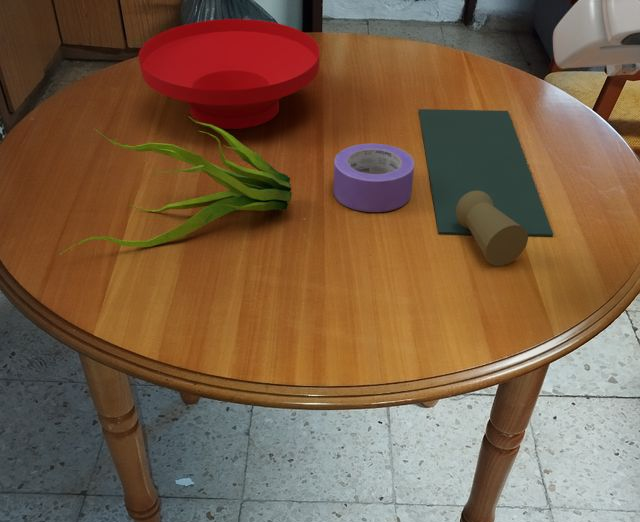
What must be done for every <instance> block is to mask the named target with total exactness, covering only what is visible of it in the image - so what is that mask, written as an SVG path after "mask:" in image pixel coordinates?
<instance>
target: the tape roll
mask: <svg viewBox="0 0 640 522" xmlns="http://www.w3.org/2000/svg"><path fill="white" fill-rule="evenodd" d="M333 161H334V164H333V166H334V167H333V195H334V197H335V200H336V201H338V202H339V203H340V204H341V205H343V206H344V207H347V208H349V209H352V210H355V211H360V212H367V213H386V212H390V211H394V210H397V209H400V208H402V207H404V206H405V205H407V204H408V202H410V199H411V197H412V190H413V183H414V182H413V181H414V172H415V160H414V158H413V157H412V156H411V154H410V153H409V152H407V151H405V150H404V149H402V148H400V147H397V146H393V145H389V144H382V143H361V144H355V145H352V146H349V147H346V148H343V149H341V151H339V152H338V153H337V154H336V155H335V157H334V160H333Z"/></svg>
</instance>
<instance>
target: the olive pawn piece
mask: <svg viewBox="0 0 640 522" xmlns="http://www.w3.org/2000/svg"><path fill="white" fill-rule="evenodd" d="M455 213H456V218H457V220H458V222H459V223H460V224H461V225H462V226H463V227H465V228H467V229H470V231H471V233H472V235H471V236H473V239H474V241H475V242H476V244H477V245H478V247H479V249H480V251H481V253H482V254H483V257H484V258H485V260H486V262H487V263H488V264H490V265H491V266H493V267H502V266H506V265H508V264H510V263H512V262H514V261H515V260H517V259H518V258H519V256H520V255H522V253H523V252H524V251H525V249H526V247H527V244H528V240H529V236H528V233H527V231H526V230H525V228H523V227H522V226H520V225H519V224H518V223H516V222H515V221H513V220H512V219H510V218H509V217H508V216H506V215H505V214H503V213H502V212H501V211H499V210H498V209H496V208H495V207H494V206H493V202H492V200H491V198H490V197H489V195H487V194H486V193H484V192H482V191H471V192H469V193H467V194H465V195H464V196H463V197H462V198H461V199H460V200H459V202H458V204H457V206H456V212H455Z"/></svg>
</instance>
